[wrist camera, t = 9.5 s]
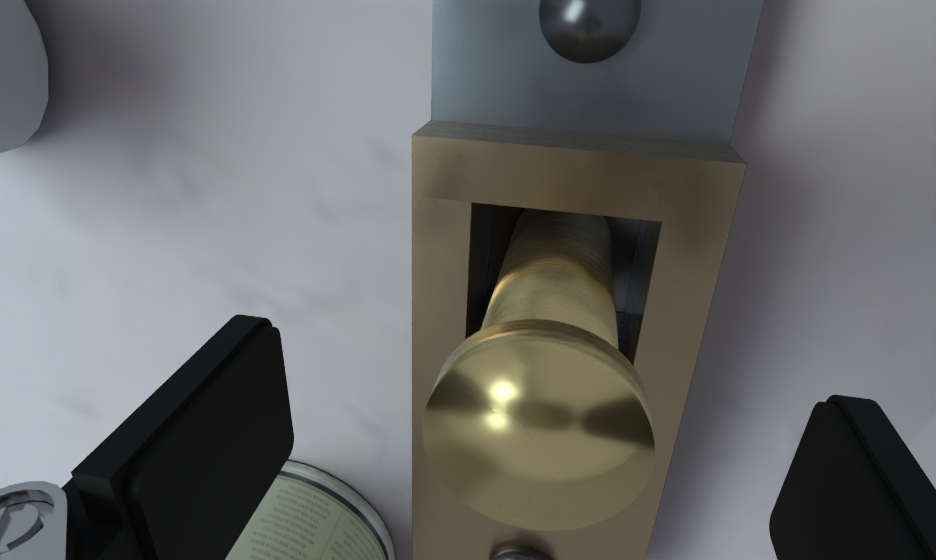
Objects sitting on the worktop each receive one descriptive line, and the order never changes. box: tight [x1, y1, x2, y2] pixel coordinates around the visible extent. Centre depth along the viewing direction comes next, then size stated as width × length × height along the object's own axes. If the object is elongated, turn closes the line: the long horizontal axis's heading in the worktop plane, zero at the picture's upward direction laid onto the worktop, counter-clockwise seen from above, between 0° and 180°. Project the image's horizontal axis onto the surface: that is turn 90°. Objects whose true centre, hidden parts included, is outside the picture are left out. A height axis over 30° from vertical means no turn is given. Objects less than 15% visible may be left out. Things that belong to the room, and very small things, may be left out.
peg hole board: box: [412, 0, 764, 560], centre depth 17 cm, size 28×8×5 cm, turn 178°
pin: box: [422, 208, 655, 531], centre depth 15 cm, size 4×4×10 cm
